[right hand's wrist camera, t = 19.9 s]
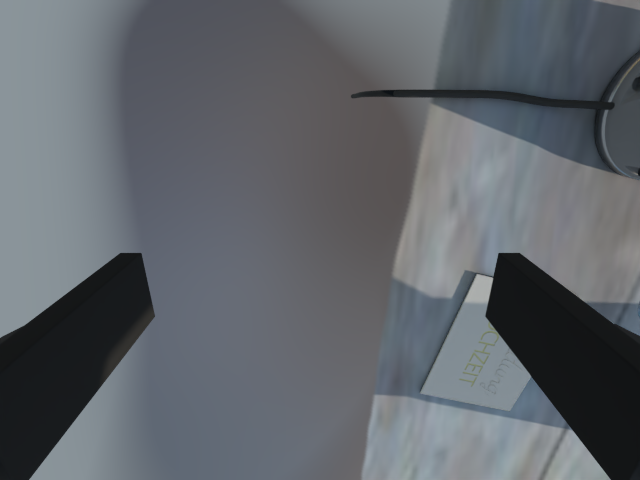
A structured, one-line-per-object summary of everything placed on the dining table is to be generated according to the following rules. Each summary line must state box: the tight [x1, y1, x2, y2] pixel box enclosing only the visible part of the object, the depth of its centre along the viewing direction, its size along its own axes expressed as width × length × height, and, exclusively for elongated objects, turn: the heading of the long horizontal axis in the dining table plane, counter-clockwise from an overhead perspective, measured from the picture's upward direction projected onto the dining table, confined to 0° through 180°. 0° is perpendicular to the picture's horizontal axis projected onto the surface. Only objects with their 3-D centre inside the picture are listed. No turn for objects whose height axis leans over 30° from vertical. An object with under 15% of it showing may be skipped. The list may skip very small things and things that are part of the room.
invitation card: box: [420, 274, 531, 411], centre depth 49 cm, size 21×1×15 cm
